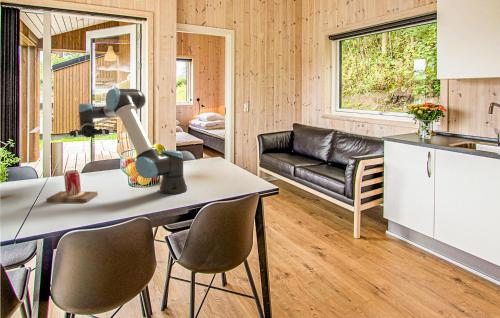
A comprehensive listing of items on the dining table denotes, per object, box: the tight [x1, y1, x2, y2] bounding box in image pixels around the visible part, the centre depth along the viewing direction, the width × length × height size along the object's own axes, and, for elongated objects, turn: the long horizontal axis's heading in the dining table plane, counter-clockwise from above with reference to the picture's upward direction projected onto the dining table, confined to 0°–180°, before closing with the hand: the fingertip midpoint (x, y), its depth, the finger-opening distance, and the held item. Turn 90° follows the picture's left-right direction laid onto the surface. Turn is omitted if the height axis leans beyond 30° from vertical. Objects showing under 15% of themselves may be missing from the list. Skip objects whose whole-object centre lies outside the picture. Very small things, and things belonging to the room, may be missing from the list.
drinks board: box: [46, 190, 99, 204], centre depth 181 cm, size 20×13×2 cm, turn 90°
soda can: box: [63, 169, 82, 195], centre depth 180 cm, size 7×7×12 cm
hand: (91, 134), depth 191 cm, fingers open, 13 cm apart
